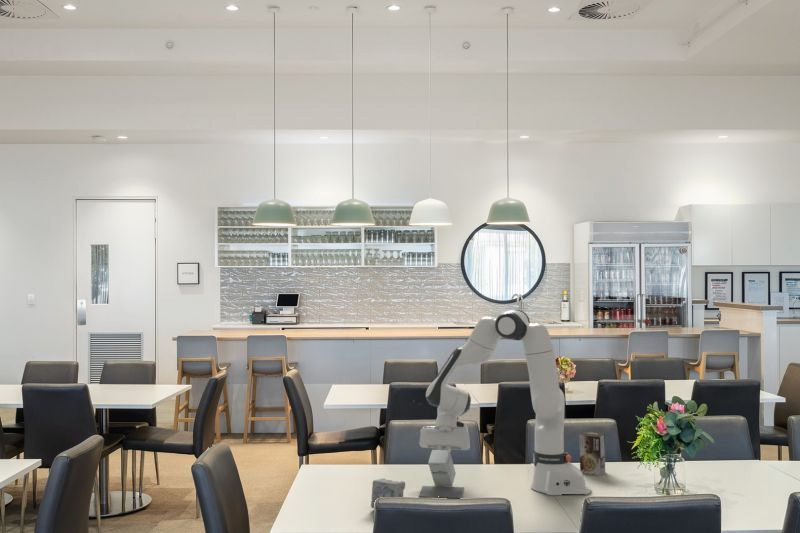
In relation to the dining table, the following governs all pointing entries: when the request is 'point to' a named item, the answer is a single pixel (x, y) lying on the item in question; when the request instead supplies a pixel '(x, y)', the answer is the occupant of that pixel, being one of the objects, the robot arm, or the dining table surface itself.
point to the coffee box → (592, 453)
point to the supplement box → (442, 467)
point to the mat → (441, 492)
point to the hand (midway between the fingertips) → (443, 457)
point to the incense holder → (386, 489)
